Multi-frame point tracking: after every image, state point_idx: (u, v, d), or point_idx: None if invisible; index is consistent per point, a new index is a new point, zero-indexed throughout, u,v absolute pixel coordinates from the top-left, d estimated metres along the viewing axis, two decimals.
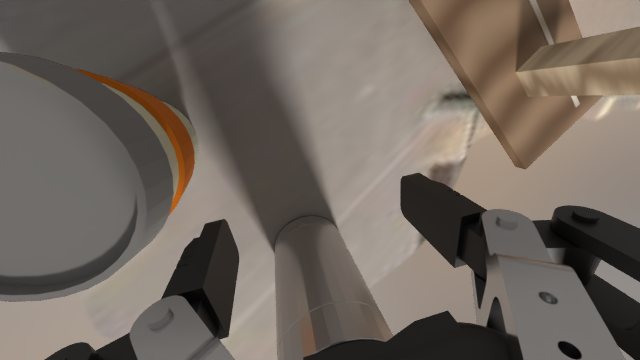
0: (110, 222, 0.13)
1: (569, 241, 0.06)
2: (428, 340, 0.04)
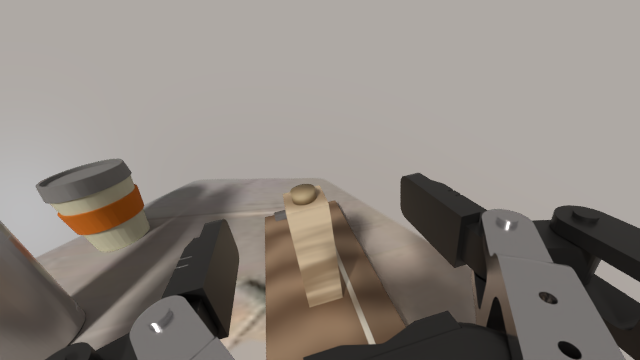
0: None
1: (569, 241, 0.06)
2: (428, 341, 0.04)
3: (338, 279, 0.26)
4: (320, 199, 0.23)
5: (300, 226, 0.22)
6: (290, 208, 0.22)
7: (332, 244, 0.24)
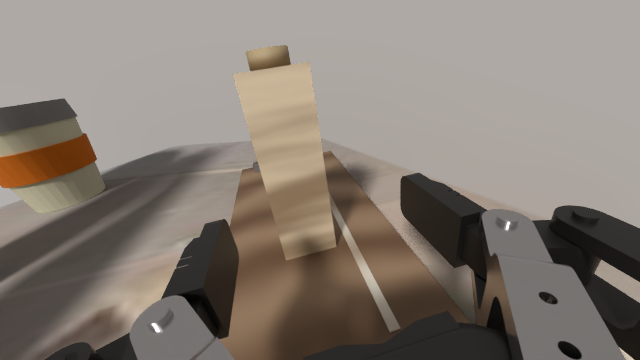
0: None
1: (569, 241, 0.06)
2: (428, 341, 0.04)
3: (329, 215, 0.17)
4: None
5: (261, 104, 0.13)
6: None
7: (318, 148, 0.15)
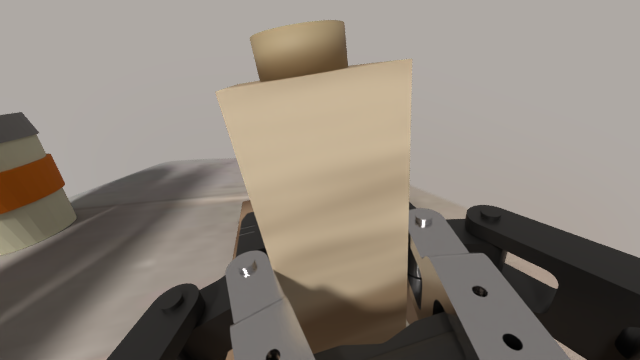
0: None
1: (476, 238, 0.07)
2: (428, 340, 0.04)
3: None
4: (366, 64, 0.06)
5: (288, 162, 0.05)
6: (244, 85, 0.05)
7: (400, 241, 0.07)
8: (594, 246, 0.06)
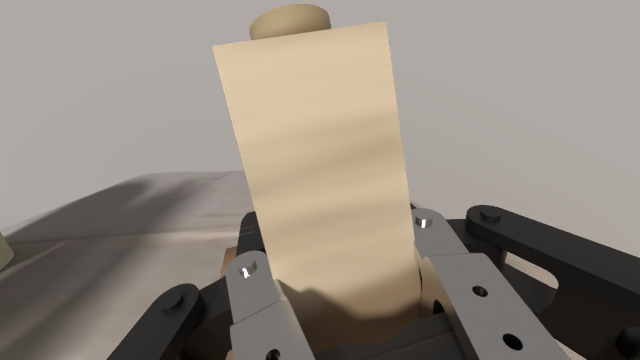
0: None
1: (476, 238, 0.07)
2: (428, 340, 0.04)
3: None
4: None
5: (278, 115, 0.05)
6: None
7: (403, 214, 0.06)
8: (594, 246, 0.06)
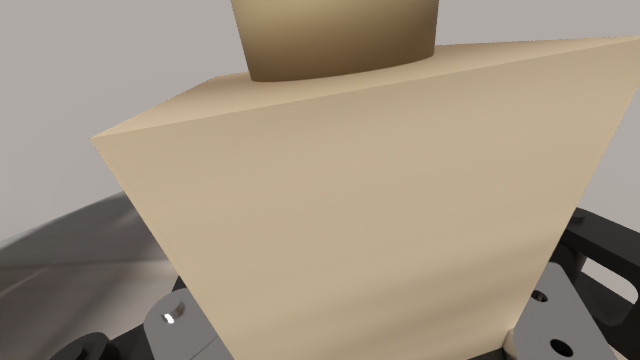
0: None
1: None
2: None
3: None
4: (481, 48, 0.03)
5: (317, 281, 0.02)
6: (208, 98, 0.02)
7: None
8: None
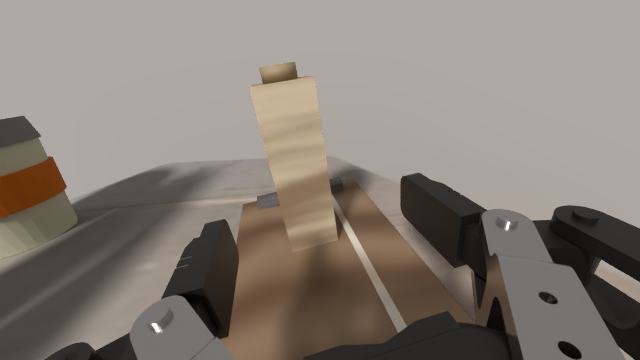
0: None
1: (569, 241, 0.06)
2: (428, 341, 0.04)
3: (331, 210, 0.19)
4: (303, 77, 0.15)
5: (273, 112, 0.15)
6: (257, 85, 0.15)
7: (321, 150, 0.17)
8: None
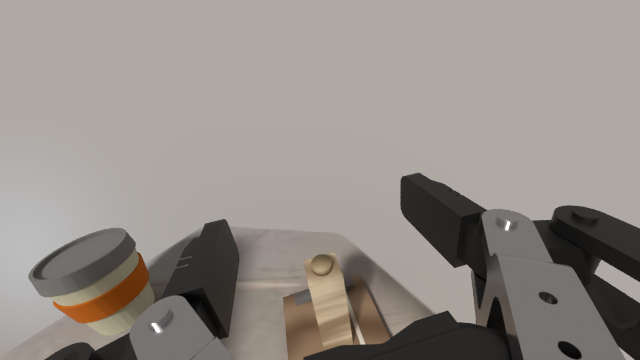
0: (72, 271, 0.35)
1: (569, 241, 0.06)
2: (428, 340, 0.04)
3: (349, 330, 0.31)
4: (336, 270, 0.27)
5: (320, 293, 0.27)
6: (311, 279, 0.27)
7: (345, 305, 0.28)
8: None
